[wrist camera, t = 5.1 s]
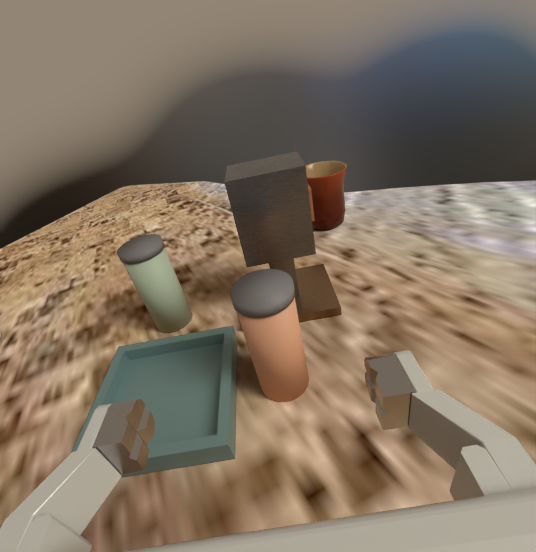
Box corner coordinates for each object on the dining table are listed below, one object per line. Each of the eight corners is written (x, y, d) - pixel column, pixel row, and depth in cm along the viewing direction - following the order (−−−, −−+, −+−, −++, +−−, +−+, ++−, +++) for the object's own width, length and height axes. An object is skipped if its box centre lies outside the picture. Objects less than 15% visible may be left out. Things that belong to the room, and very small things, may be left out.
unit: (245, 332, 39) (202, 193, 29) (244, 285, 47) (211, 165, 37) (341, 314, 38) (331, 166, 28) (323, 270, 47) (311, 144, 37)
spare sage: (152, 336, 42) (110, 260, 35) (160, 311, 46) (125, 239, 39) (190, 329, 41) (155, 251, 35) (195, 304, 46) (165, 231, 39)
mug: (350, 232, 55) (348, 173, 49) (300, 236, 57) (292, 180, 51) (347, 204, 64) (345, 153, 59) (304, 209, 67) (298, 159, 61)
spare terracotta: (260, 407, 30) (229, 313, 23) (258, 364, 34) (231, 275, 28) (314, 397, 30) (297, 301, 23) (305, 356, 34) (289, 264, 28)
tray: (77, 484, 27) (62, 472, 26) (126, 359, 39) (118, 346, 38) (235, 458, 27) (228, 444, 25) (237, 339, 38) (232, 325, 37)
